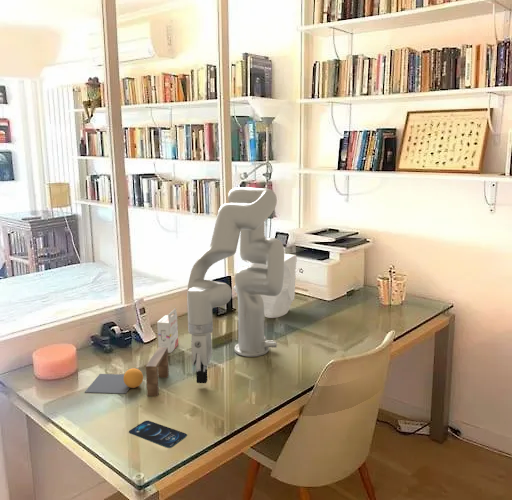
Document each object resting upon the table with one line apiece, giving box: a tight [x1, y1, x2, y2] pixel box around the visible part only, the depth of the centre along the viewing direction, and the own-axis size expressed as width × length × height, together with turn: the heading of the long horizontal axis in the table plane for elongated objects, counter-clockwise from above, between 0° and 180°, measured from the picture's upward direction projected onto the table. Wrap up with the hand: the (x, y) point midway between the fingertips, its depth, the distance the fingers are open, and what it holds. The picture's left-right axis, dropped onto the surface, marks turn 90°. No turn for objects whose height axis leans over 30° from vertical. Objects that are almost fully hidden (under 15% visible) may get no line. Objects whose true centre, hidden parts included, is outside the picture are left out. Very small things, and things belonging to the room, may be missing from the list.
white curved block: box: [232, 253, 297, 319], centre depth 242 cm, size 21×27×26 cm
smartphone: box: [128, 420, 188, 449], centre depth 144 cm, size 8×1×15 cm
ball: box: [123, 367, 144, 389], centre depth 170 cm, size 6×6×6 cm
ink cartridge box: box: [156, 307, 179, 354], centre depth 199 cm, size 9×5×15 cm, turn 168°
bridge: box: [145, 346, 170, 397], centre depth 170 cm, size 3×15×10 cm, turn 176°
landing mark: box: [84, 373, 131, 395], centre depth 172 cm, size 13×13×1 cm
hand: (202, 381), depth 170 cm, fingers closed
